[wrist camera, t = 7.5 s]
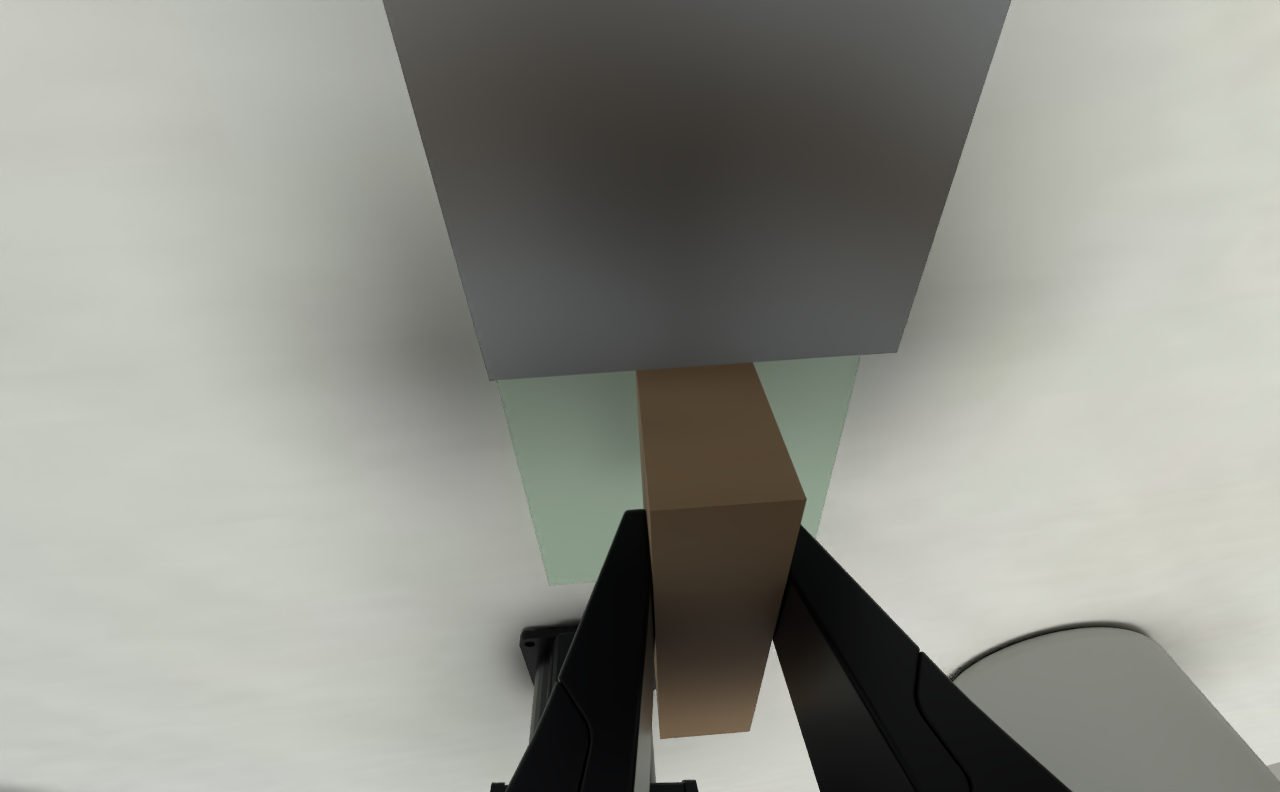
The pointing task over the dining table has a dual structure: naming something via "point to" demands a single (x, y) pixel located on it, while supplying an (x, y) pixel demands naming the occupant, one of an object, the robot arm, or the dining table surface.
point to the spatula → (695, 245)
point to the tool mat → (610, 450)
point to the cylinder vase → (1112, 715)
